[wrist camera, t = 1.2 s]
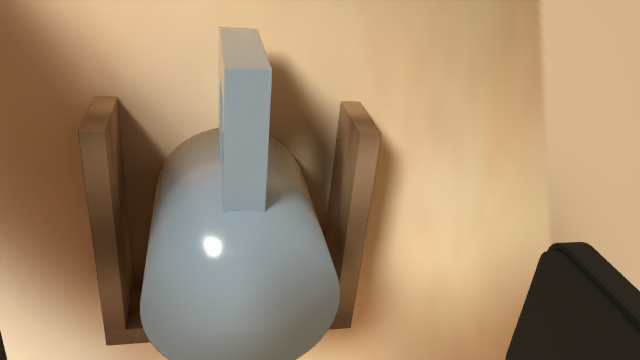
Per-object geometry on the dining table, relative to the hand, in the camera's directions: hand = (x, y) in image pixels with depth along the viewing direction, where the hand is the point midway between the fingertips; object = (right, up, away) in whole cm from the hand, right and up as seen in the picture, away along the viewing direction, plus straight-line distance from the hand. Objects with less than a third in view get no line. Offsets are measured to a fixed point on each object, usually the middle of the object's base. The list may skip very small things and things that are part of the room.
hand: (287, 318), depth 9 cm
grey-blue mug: (-4, +4, +19) cm, 20 cm away
